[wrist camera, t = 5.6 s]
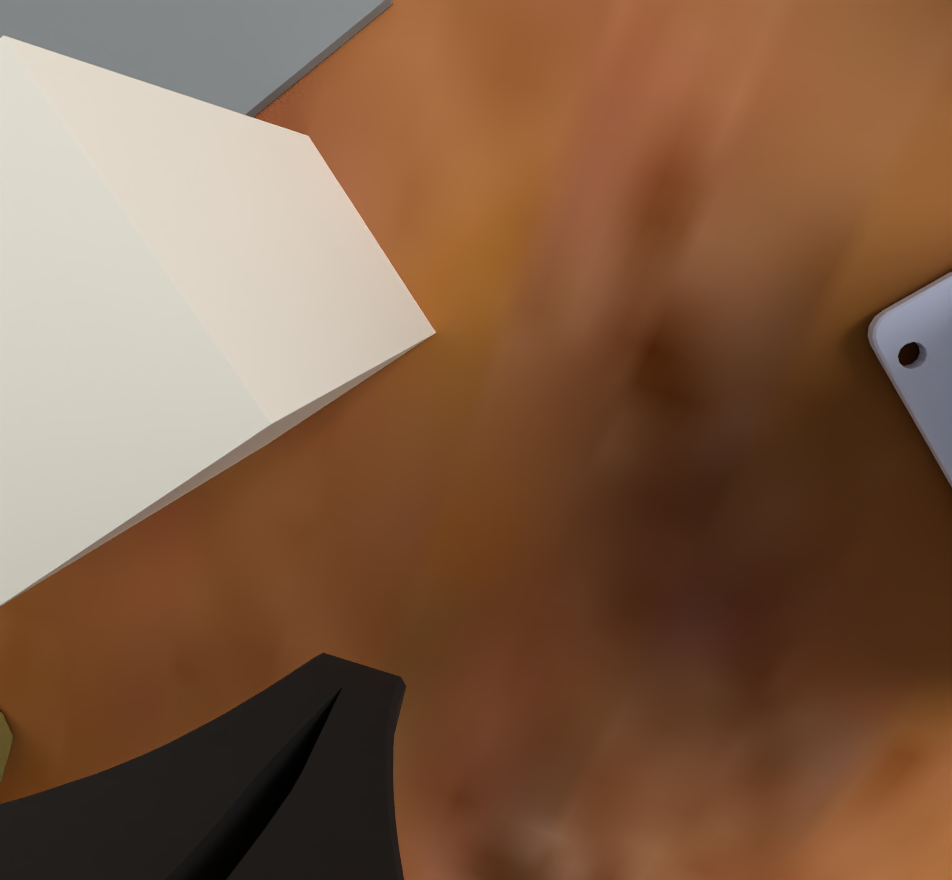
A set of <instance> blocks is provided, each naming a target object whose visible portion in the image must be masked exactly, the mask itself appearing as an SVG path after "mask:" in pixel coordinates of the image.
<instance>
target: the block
mask: <svg viewBox="0 0 952 880" xmlns="http://www.w3.org/2000/svg"><path fill="white" fill-rule="evenodd" d="M435 333H436V332H435V331H434V329H433V327H432V326H431V324H430V323H429V321H428V320H427V318H426V317H425V315H424V314H423V312H422V310H421V309H420V307H419V306H418V304H417V303H416V301H415V300H414V298H413V297H412V295H411V294H410V292H409V290H408V289H407V287H406V286H405V284H404V283H403V281H402V280H401V278H400V277H399V275H398V273H397V272H396V270H395V269H394V267H393V266H392V264H391V263H390V261H389V260H388V258H387V257H386V255H385V253H384V252H383V250H382V249H381V247H380V246H379V244H378V243H377V241H376V240H375V238H374V236H373V235H372V233H371V232H370V230H369V229H368V227H367V226H366V224H365V223H364V221H363V220H362V218H361V216H360V215H359V213H358V212H357V210H356V209H355V207H354V206H353V204H352V203H351V201H350V199H349V198H348V196H347V195H346V193H345V192H344V190H343V189H342V187H341V186H340V184H339V183H338V181H337V179H336V178H335V176H334V175H333V173H332V172H331V170H330V169H329V167H328V166H327V164H326V163H325V161H324V159H323V158H322V156H321V155H320V153H319V152H318V150H317V149H316V147H315V146H314V144H313V142H312V141H311V139H310V138H309V136H307V135H304V134H301V133H298V132H295V131H292V130H289V129H286V128H283V127H280V126H276V125H273V124H270V123H267V122H264V121H261V120H258V119H255V118H252V117H249V116H246V115H243V114H240V113H237V112H234V111H231V110H228V109H225V108H222V107H219V106H216V105H213V104H210V103H207V102H204V101H201V100H198V99H195V98H192V97H189V96H186V95H183V94H180V93H177V92H174V91H170V90H167V89H164V88H161V87H158V86H155V85H152V84H149V83H146V82H143V81H140V80H137V79H134V78H131V77H128V76H125V75H122V74H119V73H116V72H113V71H110V70H107V69H104V68H101V67H98V66H95V65H92V64H89V63H86V62H83V61H80V60H77V59H74V58H71V57H68V56H65V55H61V54H58V53H55V52H52V51H49V50H46V49H43V48H40V47H37V46H34V45H31V44H28V43H25V42H22V41H19V40H16V39H13V38H10V37H7V36H4V35H3V36H2V37H1V38H0V606H2V605H3V604H5V603H7V602H8V601H10V600H12V599H13V598H15V597H17V596H18V595H20V594H22V593H23V592H25V591H27V590H28V589H30V588H32V587H33V586H35V585H36V584H38V583H40V582H41V581H43V580H45V579H46V578H48V577H50V576H51V575H53V574H55V573H56V572H58V571H60V570H61V569H63V568H64V567H66V566H68V565H69V564H71V563H73V562H74V561H76V560H78V559H79V558H81V557H83V556H84V555H86V554H88V553H89V552H91V551H92V550H94V549H96V548H97V547H99V546H101V545H102V544H104V543H106V542H107V541H109V540H111V539H112V538H114V537H116V536H117V535H119V534H120V533H122V532H124V531H125V530H127V529H129V528H130V527H132V526H134V525H135V524H137V523H139V522H140V521H142V520H144V519H145V518H147V517H148V516H150V515H152V514H153V513H155V512H157V511H158V510H160V509H162V508H163V507H165V506H167V505H168V504H170V503H172V502H173V501H175V500H176V499H178V498H180V497H181V496H183V495H185V494H186V493H188V492H190V491H191V490H193V489H195V488H196V487H198V486H200V485H201V484H203V483H204V482H206V481H208V480H209V479H211V478H213V477H214V476H216V475H218V474H219V473H221V472H223V471H224V470H226V469H228V468H229V467H231V466H232V465H234V464H236V463H237V462H239V461H241V460H242V459H244V458H246V457H247V456H249V455H251V454H252V453H254V452H256V451H257V450H259V449H261V448H262V447H264V446H265V445H267V444H269V443H270V442H272V441H273V440H275V439H276V438H278V437H279V436H281V435H282V434H284V433H285V432H287V431H288V430H290V429H291V428H293V427H294V426H296V425H297V424H299V423H300V422H302V421H303V420H305V419H306V418H308V417H309V416H311V415H312V414H314V413H315V412H317V411H318V410H320V409H322V408H323V407H325V406H326V405H328V404H329V403H331V402H332V401H334V400H335V399H337V398H338V397H340V396H341V395H343V394H344V393H346V392H347V391H349V390H350V389H352V388H353V387H355V386H356V385H358V384H359V383H361V382H362V381H364V380H365V379H367V378H368V377H370V376H371V375H373V374H374V373H376V372H377V371H379V370H380V369H382V368H383V367H385V366H387V365H388V364H390V363H391V362H393V361H394V360H396V359H397V358H399V357H400V356H402V355H403V354H405V353H406V352H408V351H409V350H411V349H412V348H414V347H415V346H417V345H418V344H420V343H421V342H423V341H424V340H426V339H427V338H429V337H430V336H432V335H433V334H435Z"/></svg>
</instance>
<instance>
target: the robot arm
mask: <svg viewBox="0 0 952 880" xmlns="http://www.w3.org/2000/svg"><path fill="white" fill-rule="evenodd" d="M868 339H869V342H870V345H871V347H872V349H873V351H874V352H875V354H876V356H877V358H878V359H879V361H880V363H881V365H882V366H883V368H884V370H885V372H886V373H887V375H888V377H889V379H890V380H891V382H892V384H893V386H894V387H895V389H896V391H897V393H898V394H899V396H900V398H901V400H902V401H903V403H904V405H905V407H906V408H907V410H908V412H909V414H910V415H911V417H912V419H913V421H914V422H915V424H916V426H917V428H918V429H919V431H920V433H921V434H922V436H923V438H924V440H925V441H926V443H927V445H928V447H929V448H930V450H931V452H932V454H933V455H934V457H935V459H936V461H937V462H938V464H939V466H940V468H941V469H942V471H943V473H944V475H945V476H946V478H947V480H948V482H949V483H950V485H951V487H952V271H951V272H950V273H948V274H946V275H944V276H943V277H941V278H939V279H937V280H935V281H934V282H932V283H930V284H928V285H927V286H925V287H923V288H921V289H920V290H918V291H916V292H914V293H913V294H911V295H909V296H907V297H905V298H904V299H902V300H900V301H898V302H897V303H895V304H893V305H891V306H890V307H888V308H886V309H884V310H882V311H881V312H880V313H879V314H878V315H876V316H875V317H874V318H873V320H872V322H871V324H870V325H869V329H868ZM911 342H915V343H916V344H917V345H918V346H919V351H920V353H919V356H918V359H917V360H916V361H914V362H913V363H912V364H910V365H906V366H903V365H901V364H900V363H899V359H898V354H899V351H900V349H901V348H902V347H903V346H904V345H905V344H907V343H911ZM405 689H406V685H405V683H404V682H403V680H402V678H401V677H399V676H396V675H393V674H390V673H387V672H383V671H380V670H377V669H374V668H370V667H367V666H364V665H361V664H358V663H354V662H351V661H348V660H345V659H341V658H338V657H335V656H332V655H329V654H325V653H322V654H320V655H318V656H316V657H315V658H313V659H311V660H310V661H308V662H307V663H305V664H304V665H302V666H301V667H299V668H298V669H296V670H295V671H293V672H292V673H290V674H289V675H287V676H285V677H284V678H282V679H281V680H279V681H278V682H276V683H275V684H273V685H271V686H270V687H268V688H267V689H265V690H264V691H262V692H260V693H259V694H257V695H255V696H254V697H252V698H250V699H249V700H247V701H245V702H244V703H242V704H240V705H238V706H237V707H235V708H233V709H232V710H230V711H228V712H227V713H225V714H223V715H221V716H220V717H218V718H216V719H214V720H212V721H210V722H209V723H207V724H205V725H203V726H201V727H199V728H197V729H195V730H193V731H191V732H189V733H187V734H186V735H184V736H182V737H180V738H178V739H176V740H174V741H172V742H170V743H168V744H166V745H164V746H162V747H160V748H157V749H155V750H153V751H151V752H149V753H147V754H144V755H142V756H140V757H137V758H135V759H132V760H130V761H128V762H125V763H123V764H120V765H118V766H115V767H113V768H110V769H108V770H105V771H103V772H100V773H97V774H95V775H92V776H89V777H86V778H83V779H80V780H76V781H73V782H70V783H67V784H64V785H61V786H58V787H55V788H52V789H49V790H46V791H43V792H40V793H37V794H34V795H31V796H28V797H25V798H21V799H18V800H14V801H11V802H7V803H3V804H0V880H404V877H403V871H402V865H401V859H400V853H399V846H398V838H397V829H396V820H395V807H394V792H393V743H394V733H395V729H396V725H397V721H398V717H399V713H400V709H401V705H402V701H403V697H404V693H405Z"/></svg>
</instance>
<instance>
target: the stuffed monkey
mask: <svg viewBox="0 0 952 880" xmlns="http://www.w3.org/2000/svg"><path fill="white" fill-rule="evenodd" d="M13 738H14V737H13V735H12V733H11V731H10V728H9V726H8V724H7V722H6V720H5V718H4V715H3V713H2V712H1V711H0V782H1V780H2V777H3V774H4V770H5V767H6V763H7V759H8V756H9V752H10V749H11V745H12V741H13Z"/></svg>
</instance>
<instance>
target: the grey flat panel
mask: <svg viewBox="0 0 952 880" xmlns="http://www.w3.org/2000/svg"><path fill="white" fill-rule="evenodd" d="M392 4H393V3H392V1H391V0H0V38H1V37H2V36H3V35H4V36H7V37H10V38H13V39H16V40H19V41H22V42H25V43H28V44H31V45H34V46H37V47H40V48H43V49H46V50H49V51H52V52H55V53H58V54H61V55H65V56H68V57H71V58H74V59H77V60H80V61H83V62H86V63H89V64H92V65H95V66H98V67H101V68H104V69H107V70H110V71H113V72H116V73H119V74H122V75H125V76H128V77H131V78H134V79H137V80H140V81H143V82H146V83H149V84H152V85H155V86H158V87H161V88H164V89H167V90H170V91H174V92H177V93H180V94H183V95H186V96H189V97H192V98H195V99H198V100H201V101H204V102H207V103H210V104H213V105H216V106H219V107H222V108H225V109H228V110H231V111H234V112H237V113H240V114H243V115H246V116H249V117H252V118H253V117H254V116H255V115H257V114H258V113H259V112H260V111H262V110H263V109H264V108H265V107H266V106H268V105H269V104H270V103H271V102H273V101H274V100H275V99H276V98H278V97H279V96H280V95H281V94H282V93H284V92H285V91H286V90H287V89H289V88H290V87H291V86H292V85H294V84H295V83H296V82H297V81H298V80H300V79H301V78H302V77H303V76H305V75H306V74H307V73H308V72H310V71H311V70H312V69H313V68H314V67H316V66H317V65H318V64H319V63H321V62H322V61H323V60H324V59H326V58H327V57H328V56H329V55H330V54H332V53H333V52H334V51H335V50H337V49H338V48H339V47H340V46H342V45H343V44H344V43H345V42H346V41H348V40H349V39H350V38H351V37H353V36H354V35H355V34H356V33H358V32H359V31H360V30H361V29H362V28H364V27H365V26H366V25H367V24H369V23H370V22H371V21H372V20H374V19H375V18H376V17H377V16H379V15H380V14H381V13H382V12H383V11H385V10H386V9H387V8H388V7H390V6H391V5H392Z"/></svg>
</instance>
